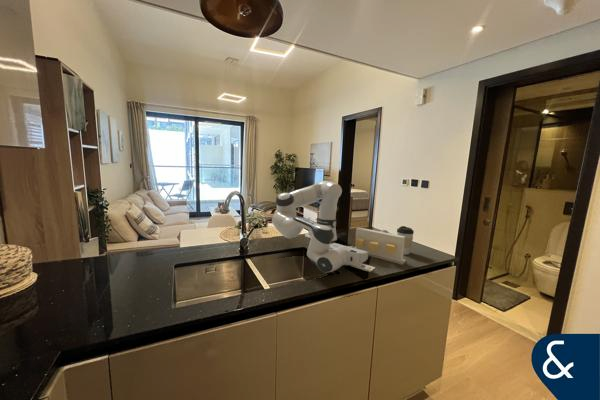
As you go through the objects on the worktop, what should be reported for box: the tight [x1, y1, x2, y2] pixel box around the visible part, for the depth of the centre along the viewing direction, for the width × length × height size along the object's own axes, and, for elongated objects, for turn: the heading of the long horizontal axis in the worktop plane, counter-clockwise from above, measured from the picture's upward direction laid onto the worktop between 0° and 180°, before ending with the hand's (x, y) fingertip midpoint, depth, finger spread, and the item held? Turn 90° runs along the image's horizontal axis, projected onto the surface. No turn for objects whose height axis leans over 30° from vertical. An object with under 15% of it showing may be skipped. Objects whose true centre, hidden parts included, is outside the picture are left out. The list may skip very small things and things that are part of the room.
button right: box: [386, 243, 396, 254], centre depth 129 cm, size 4×7×4 cm, turn 141°
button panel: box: [355, 227, 406, 266], centre depth 136 cm, size 28×5×14 cm, turn 51°
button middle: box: [369, 241, 380, 252], centre depth 132 cm, size 4×7×4 cm, turn 141°
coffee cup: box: [396, 225, 415, 256], centre depth 142 cm, size 9×9×15 cm
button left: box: [354, 238, 366, 248], centre depth 137 cm, size 4×7×4 cm, turn 141°
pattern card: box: [350, 263, 376, 273], centre depth 122 cm, size 10×6×1 cm, turn 51°
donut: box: [378, 229, 390, 245], centre depth 155 cm, size 10×4×10 cm, turn 120°
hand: (354, 247), depth 130 cm, fingers closed
